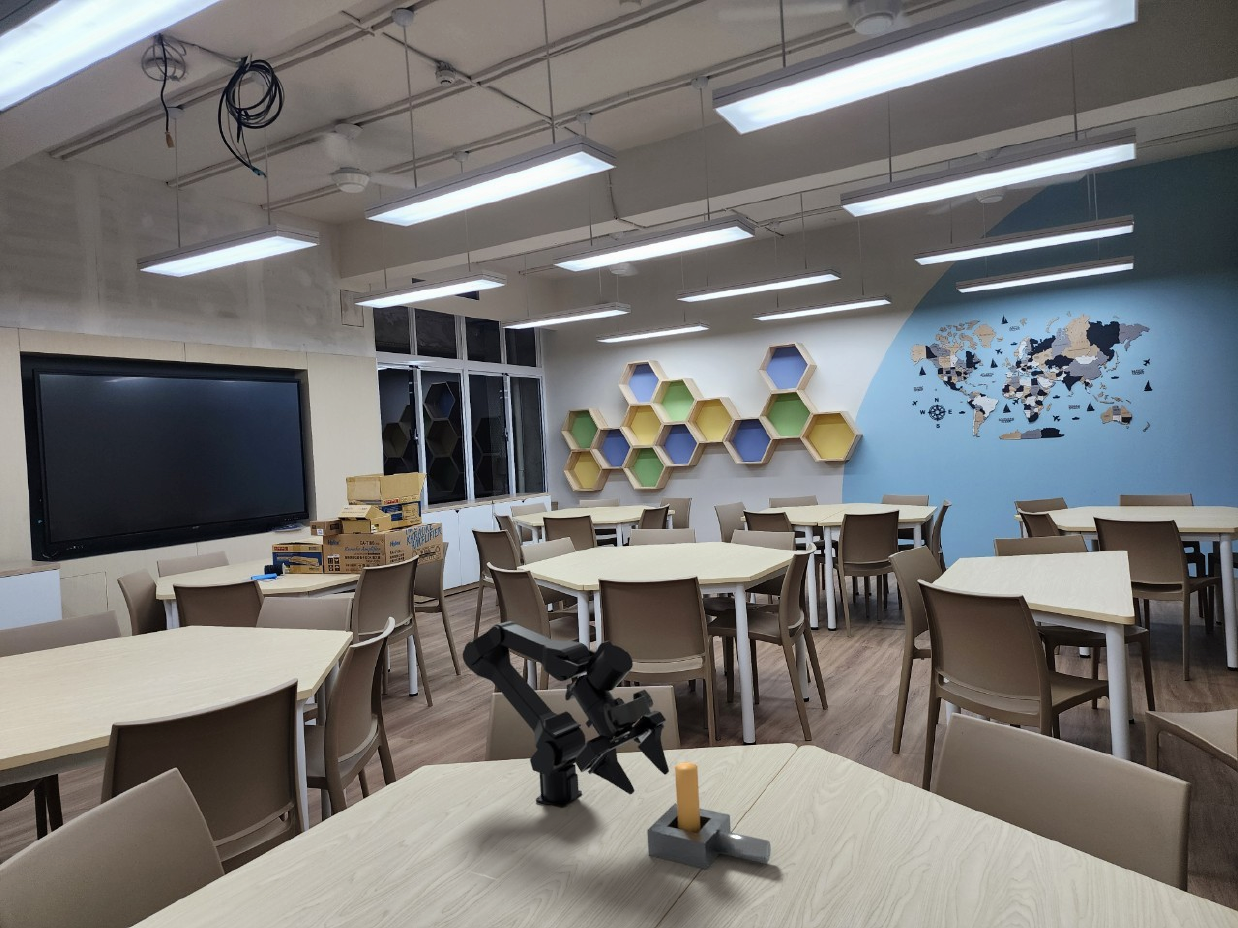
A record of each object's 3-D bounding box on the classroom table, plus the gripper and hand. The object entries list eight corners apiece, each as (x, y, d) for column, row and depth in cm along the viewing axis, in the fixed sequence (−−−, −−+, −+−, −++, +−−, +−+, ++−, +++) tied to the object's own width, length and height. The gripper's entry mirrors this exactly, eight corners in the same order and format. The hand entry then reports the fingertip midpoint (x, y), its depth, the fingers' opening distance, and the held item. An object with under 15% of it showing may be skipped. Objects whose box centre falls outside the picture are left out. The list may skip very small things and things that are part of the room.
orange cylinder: (678, 852, 121) (674, 771, 121) (679, 840, 124) (675, 762, 124) (701, 852, 120) (696, 771, 120) (701, 841, 124) (697, 762, 124)
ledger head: (648, 854, 121) (647, 829, 121) (676, 826, 129) (674, 803, 129) (756, 881, 111) (755, 854, 111) (778, 849, 120) (777, 824, 120)
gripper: (584, 693, 124) (639, 777, 117) (655, 665, 138) (708, 738, 131) (553, 731, 129) (604, 813, 122) (625, 700, 143) (674, 772, 136)
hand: (650, 782), depth 127 cm, fingers open, 9 cm apart
